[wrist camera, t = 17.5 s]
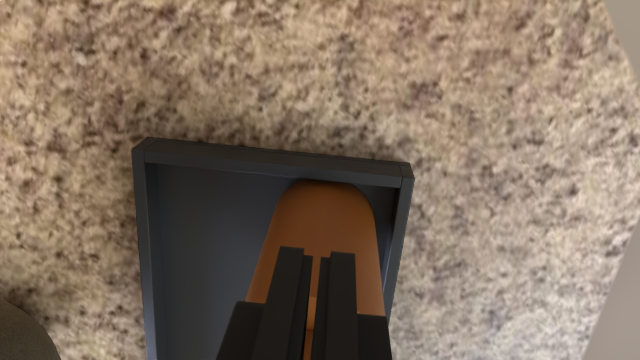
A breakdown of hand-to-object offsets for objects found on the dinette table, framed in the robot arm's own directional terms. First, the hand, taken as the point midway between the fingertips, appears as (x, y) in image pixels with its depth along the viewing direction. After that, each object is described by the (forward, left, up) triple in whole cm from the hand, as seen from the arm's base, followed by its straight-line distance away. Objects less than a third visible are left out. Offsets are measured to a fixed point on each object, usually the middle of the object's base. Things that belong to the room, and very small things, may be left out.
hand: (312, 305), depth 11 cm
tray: (+3, +21, -21) cm, 30 cm away
